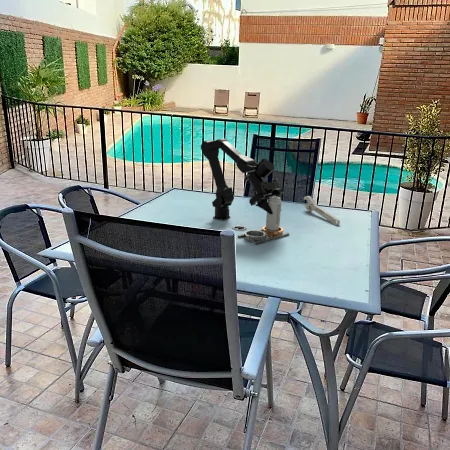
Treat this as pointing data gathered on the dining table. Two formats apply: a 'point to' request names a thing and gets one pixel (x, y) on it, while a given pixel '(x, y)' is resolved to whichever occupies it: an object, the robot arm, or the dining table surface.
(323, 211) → the wrench
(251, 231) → the socket rail
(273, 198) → the energy drink can
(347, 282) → the dining table surface
